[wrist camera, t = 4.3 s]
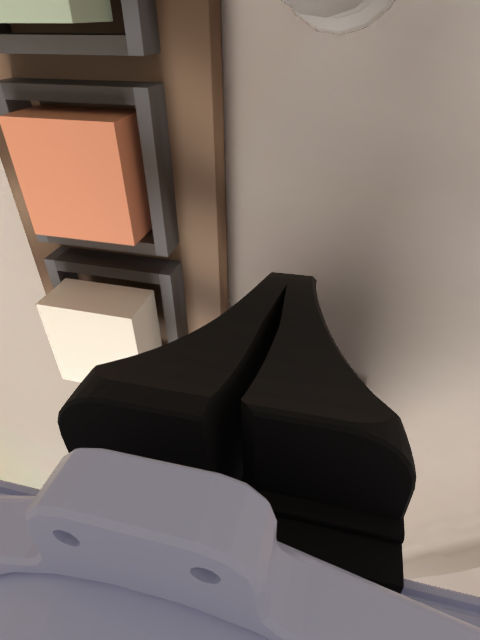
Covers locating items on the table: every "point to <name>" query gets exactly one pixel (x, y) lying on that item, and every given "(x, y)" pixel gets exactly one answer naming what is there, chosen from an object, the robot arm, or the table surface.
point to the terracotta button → (80, 171)
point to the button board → (156, 143)
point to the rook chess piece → (339, 13)
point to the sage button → (55, 11)
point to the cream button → (97, 324)
